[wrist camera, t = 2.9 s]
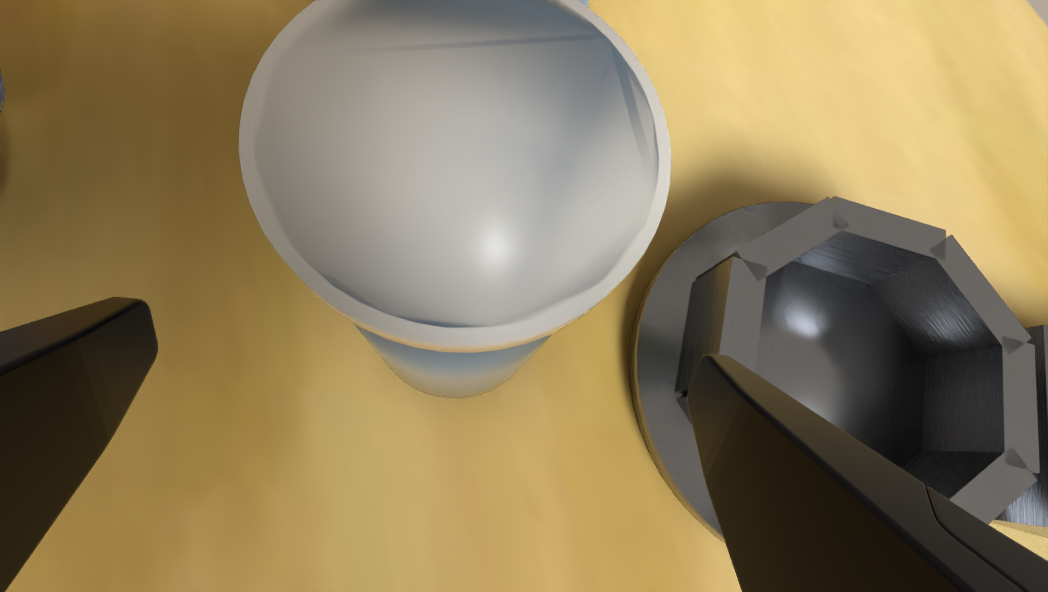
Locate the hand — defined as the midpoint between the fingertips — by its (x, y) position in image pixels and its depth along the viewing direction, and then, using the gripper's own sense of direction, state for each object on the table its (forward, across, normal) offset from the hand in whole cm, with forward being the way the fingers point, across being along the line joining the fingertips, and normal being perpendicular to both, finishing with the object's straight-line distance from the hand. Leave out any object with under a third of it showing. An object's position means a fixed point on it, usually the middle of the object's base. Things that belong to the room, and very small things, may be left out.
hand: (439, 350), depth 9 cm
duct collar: (+8, -19, +7) cm, 21 cm away
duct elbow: (+11, 0, +4) cm, 11 cm away
